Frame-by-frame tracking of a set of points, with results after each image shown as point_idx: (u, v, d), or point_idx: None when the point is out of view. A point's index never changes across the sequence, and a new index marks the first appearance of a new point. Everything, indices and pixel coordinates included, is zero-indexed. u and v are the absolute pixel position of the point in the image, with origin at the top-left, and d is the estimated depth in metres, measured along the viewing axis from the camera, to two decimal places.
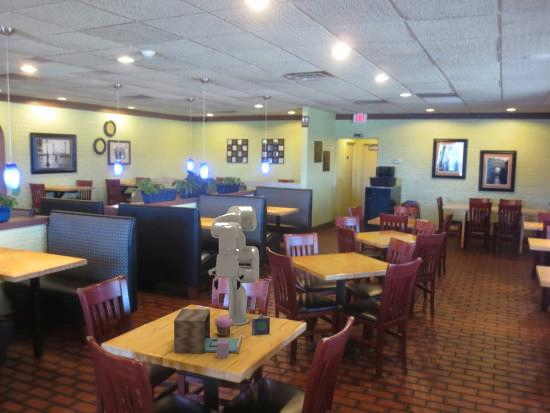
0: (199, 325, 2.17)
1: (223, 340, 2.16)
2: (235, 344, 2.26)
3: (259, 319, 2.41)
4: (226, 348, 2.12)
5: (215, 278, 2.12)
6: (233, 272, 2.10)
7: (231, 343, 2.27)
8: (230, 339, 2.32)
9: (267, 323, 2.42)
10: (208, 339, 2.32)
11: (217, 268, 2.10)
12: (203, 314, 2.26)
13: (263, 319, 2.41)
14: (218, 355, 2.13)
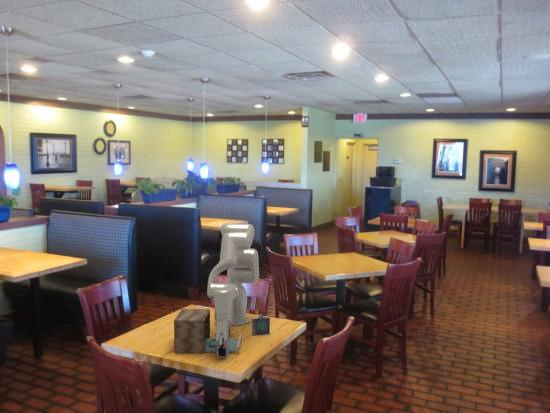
0: (199, 325, 2.17)
1: (223, 340, 2.16)
2: (235, 344, 2.26)
3: (259, 319, 2.41)
4: (226, 348, 2.13)
5: (224, 345, 2.11)
6: (228, 331, 2.18)
7: (231, 343, 2.27)
8: (230, 339, 2.32)
9: (267, 323, 2.42)
10: (208, 339, 2.32)
11: (226, 333, 2.11)
12: (203, 314, 2.26)
13: (263, 319, 2.41)
14: (218, 355, 2.13)
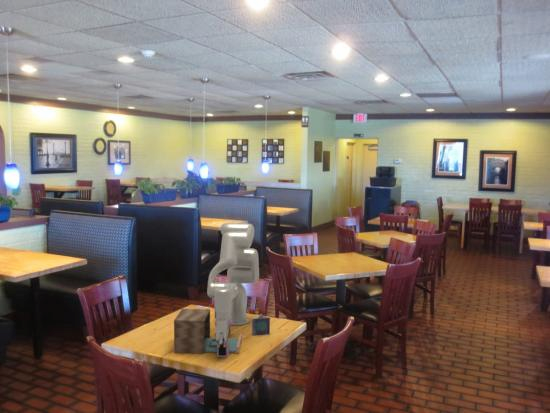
0: (199, 325, 2.17)
1: (223, 339, 2.16)
2: (235, 344, 2.26)
3: (259, 319, 2.41)
4: (226, 347, 2.13)
5: None
6: (228, 330, 2.18)
7: (231, 343, 2.27)
8: (230, 339, 2.32)
9: (267, 323, 2.42)
10: (208, 339, 2.32)
11: (226, 333, 2.11)
12: (203, 314, 2.26)
13: (263, 319, 2.41)
14: (218, 354, 2.14)
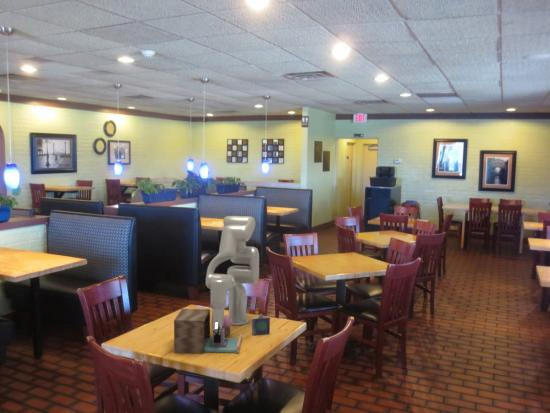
0: (199, 325, 2.17)
1: None
2: (235, 344, 2.26)
3: (259, 319, 2.41)
4: (222, 336, 2.23)
5: None
6: None
7: (231, 343, 2.27)
8: (230, 339, 2.32)
9: (267, 323, 2.42)
10: (208, 339, 2.32)
11: (221, 321, 2.21)
12: (203, 314, 2.26)
13: (263, 319, 2.41)
14: (214, 343, 2.24)
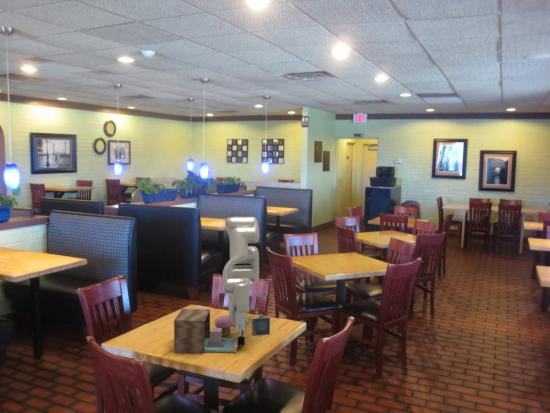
0: (199, 325, 2.17)
1: (216, 329, 2.27)
2: (233, 344, 2.26)
3: (259, 319, 2.41)
4: (219, 336, 2.23)
5: (243, 335, 2.24)
6: None
7: (229, 343, 2.27)
8: (228, 339, 2.32)
9: (267, 323, 2.42)
10: (206, 339, 2.32)
11: (245, 325, 2.21)
12: (203, 314, 2.26)
13: (263, 319, 2.41)
14: (212, 343, 2.24)
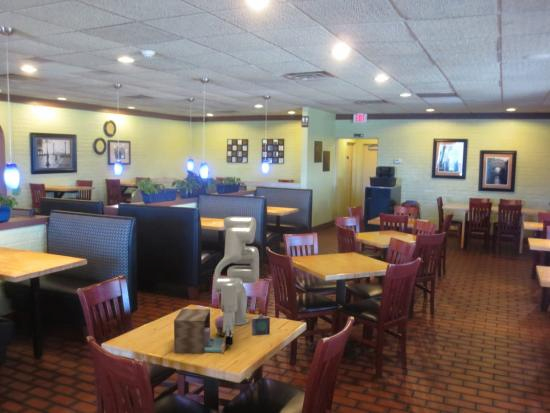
0: (199, 325, 2.17)
1: (204, 328, 2.27)
2: (220, 344, 2.26)
3: (259, 319, 2.41)
4: (207, 336, 2.24)
5: (231, 335, 2.24)
6: None
7: (217, 343, 2.27)
8: (216, 339, 2.32)
9: (267, 323, 2.42)
10: None
11: (232, 325, 2.21)
12: (203, 314, 2.26)
13: (263, 319, 2.41)
14: None
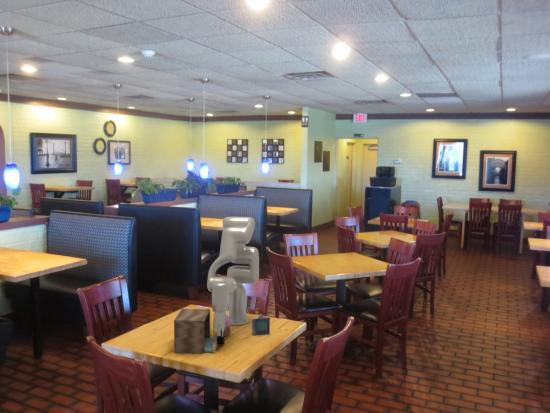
0: (199, 325, 2.17)
1: None
2: (212, 344, 2.26)
3: (259, 319, 2.41)
4: None
5: (223, 334, 2.24)
6: None
7: (208, 343, 2.27)
8: (208, 339, 2.32)
9: (267, 323, 2.42)
10: None
11: (223, 324, 2.21)
12: (203, 314, 2.26)
13: (263, 319, 2.41)
14: None
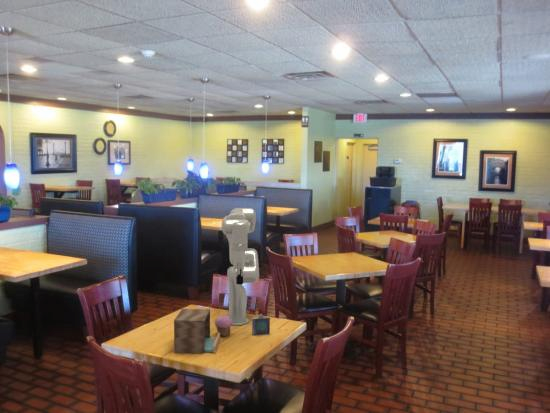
0: (199, 325, 2.17)
1: None
2: (212, 344, 2.26)
3: (259, 319, 2.41)
4: None
5: (242, 274, 2.28)
6: None
7: (208, 343, 2.27)
8: (208, 339, 2.32)
9: (267, 323, 2.42)
10: None
11: (243, 263, 2.25)
12: (203, 314, 2.26)
13: (263, 319, 2.41)
14: None
